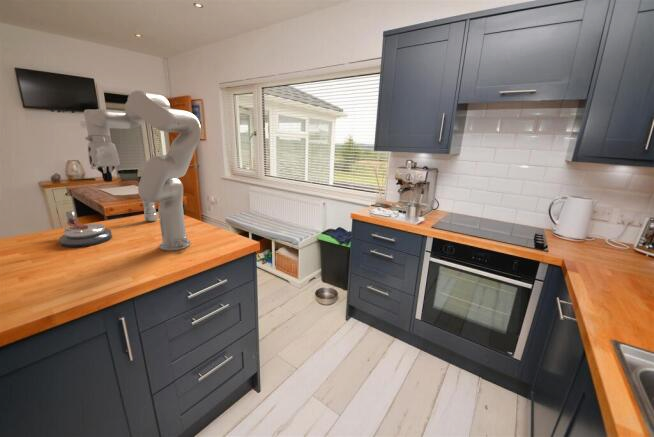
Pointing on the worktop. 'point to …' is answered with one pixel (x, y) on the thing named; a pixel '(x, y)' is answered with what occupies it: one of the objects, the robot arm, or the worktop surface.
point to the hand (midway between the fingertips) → (108, 181)
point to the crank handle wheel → (81, 228)
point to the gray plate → (85, 240)
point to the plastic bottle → (149, 211)
